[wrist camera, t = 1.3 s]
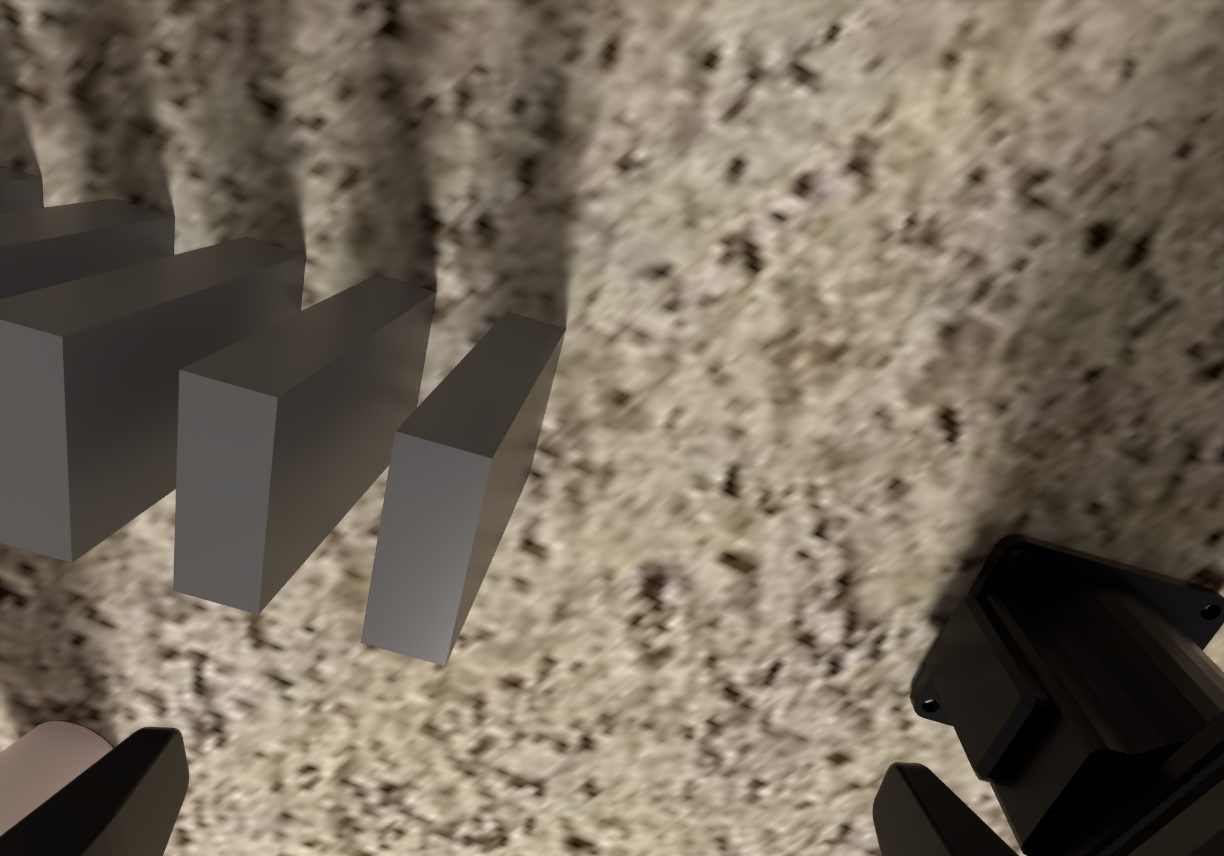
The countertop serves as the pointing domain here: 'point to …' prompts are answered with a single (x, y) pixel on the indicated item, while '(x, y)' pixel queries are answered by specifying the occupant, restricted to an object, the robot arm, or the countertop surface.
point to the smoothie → (44, 766)
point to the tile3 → (117, 383)
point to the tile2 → (291, 436)
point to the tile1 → (457, 487)
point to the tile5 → (19, 191)
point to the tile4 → (78, 242)
